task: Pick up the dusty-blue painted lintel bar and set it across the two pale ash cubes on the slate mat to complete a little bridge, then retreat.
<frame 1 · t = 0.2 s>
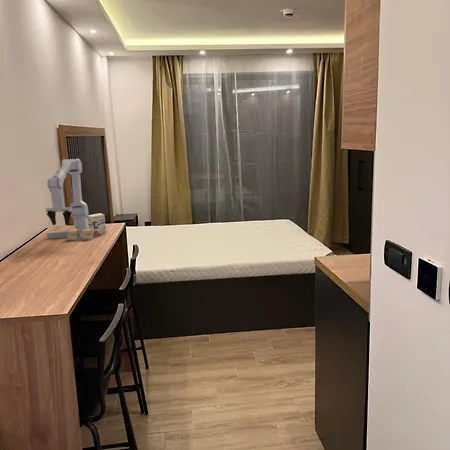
hand: (60, 224, 235), 10 cm above the table, fingers open, 7 cm apart
lintel: (59, 238, 250), on the table
cube right: (88, 238, 243), resting on mat
ink box: (98, 234, 254), on the table
mat: (81, 239, 244), on the table
cube left: (74, 238, 243), resting on mat
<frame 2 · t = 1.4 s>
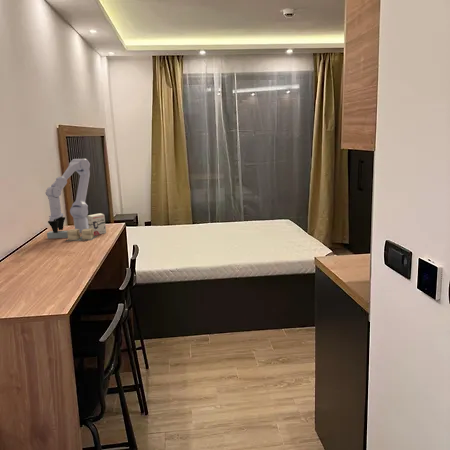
hand: (58, 231, 249), 4 cm above the table, fingers open, 7 cm apart
nothing on the table moved.
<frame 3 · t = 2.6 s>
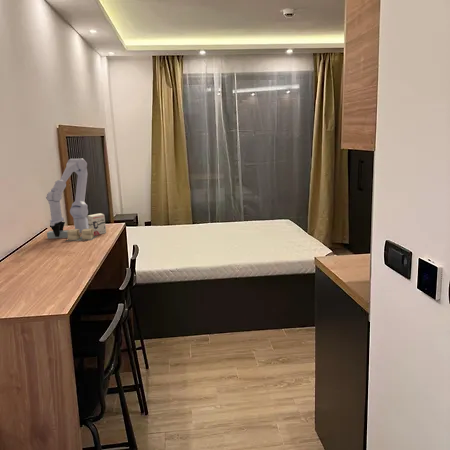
hand: (59, 235, 249), 1 cm above the table, fingers closed on lintel, 4 cm apart
lintel: (59, 238, 250), on the table, touching gripper
everything else where it was.
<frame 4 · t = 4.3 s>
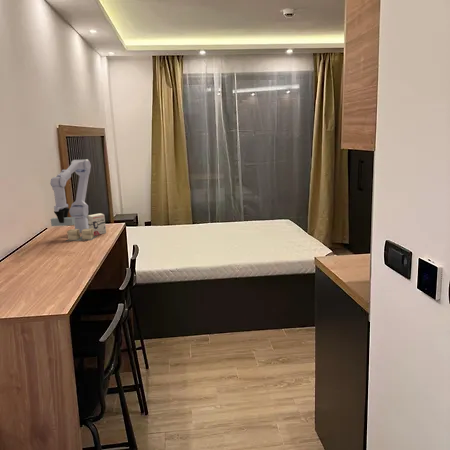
hand: (63, 221, 246), 10 cm above the table, fingers closed on lintel, 4 cm apart
lintel: (63, 224, 246), point 8 cm above the table, touching gripper
everything else where it was.
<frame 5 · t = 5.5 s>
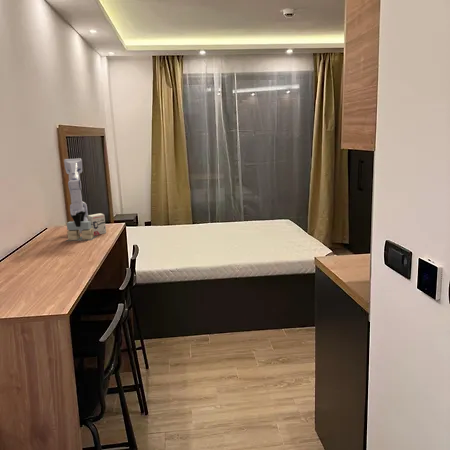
hand: (79, 225, 242), 8 cm above the table, fingers closed on lintel, 4 cm apart
lintel: (79, 229, 242), point 6 cm above the table, touching gripper
everything else where it was.
when the fingers open (8 cm above the table, at t = 6.1 s): lintel stays where it is, resting on cube left, cube right.
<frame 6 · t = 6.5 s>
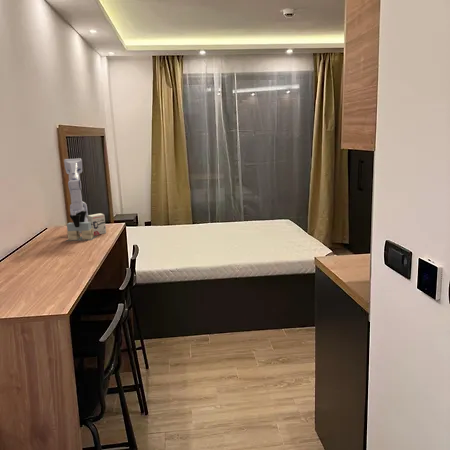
hand: (79, 225, 242), 8 cm above the table, fingers open, 7 cm apart
lintel: (79, 229, 242), point 5 cm above the table, touching cube left, cube right
cube right: (88, 238, 243), resting on mat, touching lintel
cube left: (74, 238, 243), resting on mat, touching lintel
everything else where it was.
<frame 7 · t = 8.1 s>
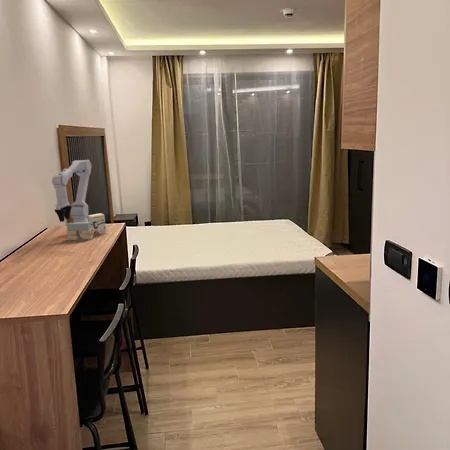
hand: (64, 220, 246), 10 cm above the table, fingers open, 7 cm apart
nothing on the table moved.
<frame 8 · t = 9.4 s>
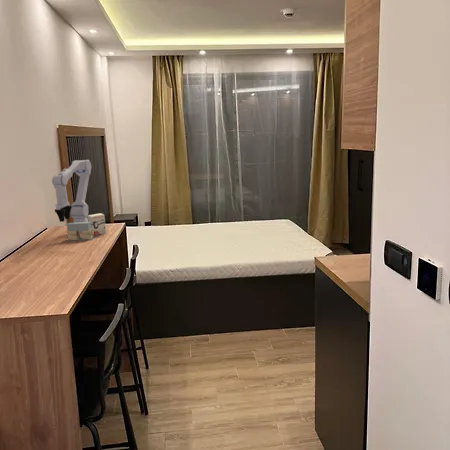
hand: (64, 220, 246), 10 cm above the table, fingers open, 7 cm apart
nothing on the table moved.
at the end: lintel 0.4 cm from the target spot, point 5.4 cm above the table; lintel tilted 0° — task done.
